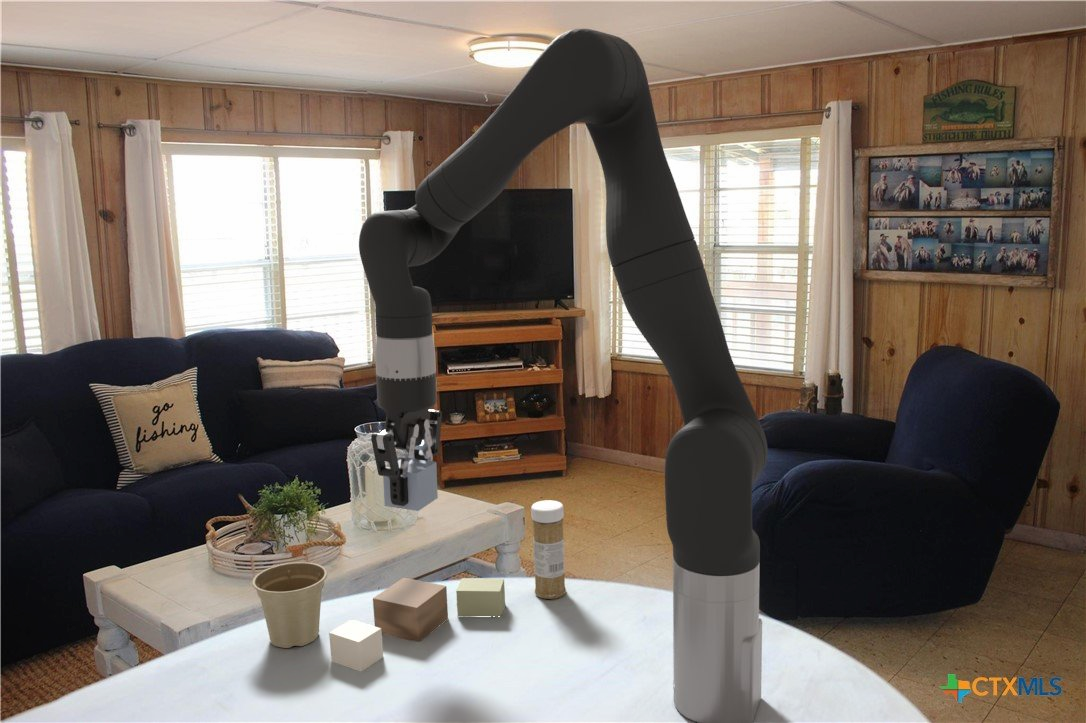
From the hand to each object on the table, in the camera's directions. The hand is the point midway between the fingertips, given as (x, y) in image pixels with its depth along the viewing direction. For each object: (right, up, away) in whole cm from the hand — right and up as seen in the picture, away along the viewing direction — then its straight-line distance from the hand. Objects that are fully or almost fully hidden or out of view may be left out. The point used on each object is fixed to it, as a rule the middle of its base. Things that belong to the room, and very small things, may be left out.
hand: (411, 496), depth 117 cm
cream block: (-6, -20, -4) cm, 21 cm away
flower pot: (-16, -19, +2) cm, 25 cm away
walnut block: (0, -18, +4) cm, 18 cm away
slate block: (0, -1, 0) cm, 1 cm away
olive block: (+9, -17, +8) cm, 21 cm away
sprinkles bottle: (+18, -16, +12) cm, 27 cm away
